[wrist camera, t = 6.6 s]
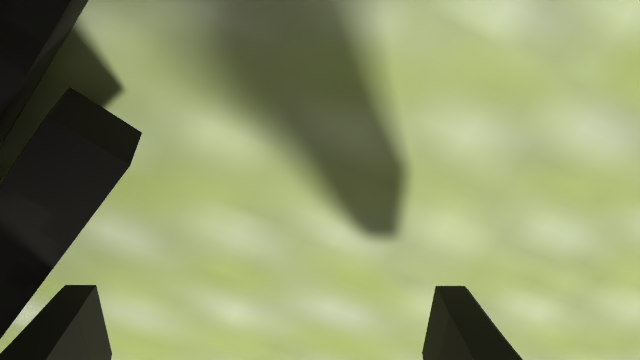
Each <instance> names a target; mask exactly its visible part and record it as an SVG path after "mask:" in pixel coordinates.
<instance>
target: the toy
mask: <svg viewBox="0 0 640 360" xmlns="http://www.w3.org/2000/svg"><path fill="white" fill-rule="evenodd" d="M87 2H88V0H0V144H1V142H2V141H3V139H4V138H5V136H6V134H7V133H8V131H9V130H10V128H11V127H12V125H13V124H14V122H15V120H16V119H17V117H18V116H19V114H20V112H21V111H22V109H23V107H24V106H25V104H26V102H27V101H28V99H29V97H30V96H31V94H32V92H33V91H34V89H35V88H36V86H37V84H38V83H39V81H40V79H41V78H42V76H43V74H44V73H45V71H46V69H47V68H48V66H49V64H50V63H51V61H52V60H53V58H54V56H55V55H56V53H57V51H58V50H59V48H60V46H61V45H62V43H63V41H64V40H65V38H66V36H67V35H68V33H69V32H70V30H71V28H72V27H73V25H74V23H75V22H76V20H77V18H78V17H79V15H80V13H81V12H82V10H83V8H84V7H85V5H86V3H87ZM141 134H142V132H140V131H138V130H137V129H135V128H134V127H132V126H131V125H129V124H127V123H126V122H124V121H123V120H121V119H120V118H118V117H116V116H115V115H113V114H112V113H110V112H109V111H107V110H105V109H104V108H102V107H101V106H99V105H98V104H96V103H94V102H93V101H91V100H90V99H88V98H87V97H85V96H83V95H82V94H80V93H79V92H77V91H76V90H74V89H72V88H71V87H70V88H69V89H68V90H67V91H66V92H65V94H64V95H63V96H62V97H61V99H60V100H59V101H58V102H57V103H56V105H55V106H54V107H53V108H52V110H51V111H50V112H49V113H48V114H47V116H46V117H45V119H44V120H43V122H42V123H41V125H40V126H39V128H38V129H37V131H36V132H35V134H34V135H33V137H32V138H31V139H30V141H29V142H28V144H27V145H26V147H25V148H24V150H23V151H22V153H21V154H20V156H19V157H18V159H17V160H16V162H15V163H14V165H13V166H12V168H11V169H10V171H9V172H8V174H7V175H6V176H5V178H4V179H3V181H2V182H1V184H0V339H1V337H2V336H3V335H4V333H5V332H6V331H7V329H8V328H9V327H10V325H11V324H12V322H13V321H14V320H15V318H16V317H17V316H18V314H19V313H20V312H21V310H22V309H23V308H24V306H25V305H26V304H27V302H28V301H29V300H30V298H31V297H32V296H33V294H34V293H35V292H36V290H37V289H38V288H39V286H40V285H41V284H42V282H43V281H44V280H45V278H46V277H47V276H48V274H49V273H50V272H51V270H52V269H53V268H54V266H55V265H56V264H57V262H58V261H59V260H60V258H61V257H62V256H63V254H64V253H65V252H66V250H67V249H68V248H69V246H70V245H71V244H72V242H73V241H74V240H75V238H76V237H77V236H78V234H79V233H80V232H81V230H82V229H83V228H84V226H85V225H86V224H87V222H88V221H89V220H90V218H91V217H92V216H93V214H94V213H95V212H96V210H97V209H98V208H99V206H100V205H101V204H102V202H103V201H104V200H105V198H106V197H107V196H108V194H109V193H110V192H111V190H112V189H113V188H114V186H115V185H116V184H117V182H118V181H119V180H120V178H121V177H122V176H123V174H124V173H125V172H126V170H127V169H128V168H129V166H130V164H131V161H132V159H133V156H134V153H135V150H136V148H137V145H138V142H139V140H140V137H141Z"/></svg>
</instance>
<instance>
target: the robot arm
mask: <svg viewBox="0 0 640 360" xmlns="http://www.w3.org/2000/svg"><path fill="white" fill-rule="evenodd" d="M422 354H423V360H523V359H522V358H521V357H520V356H519V355H518V353H517V352H516V351H515V350H514V349H513V347H512V346H511V345H510V344H509V342H508V341H507V340H506V339H505V337H504V336H503V335H502V334H501V332H500V331H499V330H498V329H497V327H496V326H495V325H494V323H493V322H492V321H491V319H490V318H489V317H488V316H487V314H486V313H485V312H484V310H483V309H482V308H481V306H480V305H479V304H478V302H477V301H476V300H475V298H474V297H473V296H472V294H471V293H470V292H469V290H468V289H467V288H466V287H465V286H436V288H435V293H434V297H433V302H432V307H431V312H430V317H429V322H428V327H427V332H426V337H425V342H424V347H423V352H422ZM111 356H112V352H111V348H110V343H109V339H108V335H107V330H106V326H105V322H104V317H103V313H102V308H101V304H100V300H99V295H98V291H97V287H96V285H65V286H64V287H63V288H62V289H61V290H60V291H59V292H58V293H57V294H56V295H55V296H54V297H53V298H52V299H51V300H50V302H49V303H48V304H47V305H46V306H45V307H44V308H43V309H42V310H41V311H40V312H39V313H38V315H37V316H36V317H35V318H34V319H33V320H32V321H31V322H30V323H29V324H28V325H27V326H26V327H25V328H24V330H23V331H22V332H21V333H20V334H19V335H18V336H17V337H16V338H15V339H14V340H13V341H12V342H11V343H10V344H9V345H8V346H7V347H6V348H5V349H4V350H3V351H2V352H1V353H0V360H111Z"/></svg>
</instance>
